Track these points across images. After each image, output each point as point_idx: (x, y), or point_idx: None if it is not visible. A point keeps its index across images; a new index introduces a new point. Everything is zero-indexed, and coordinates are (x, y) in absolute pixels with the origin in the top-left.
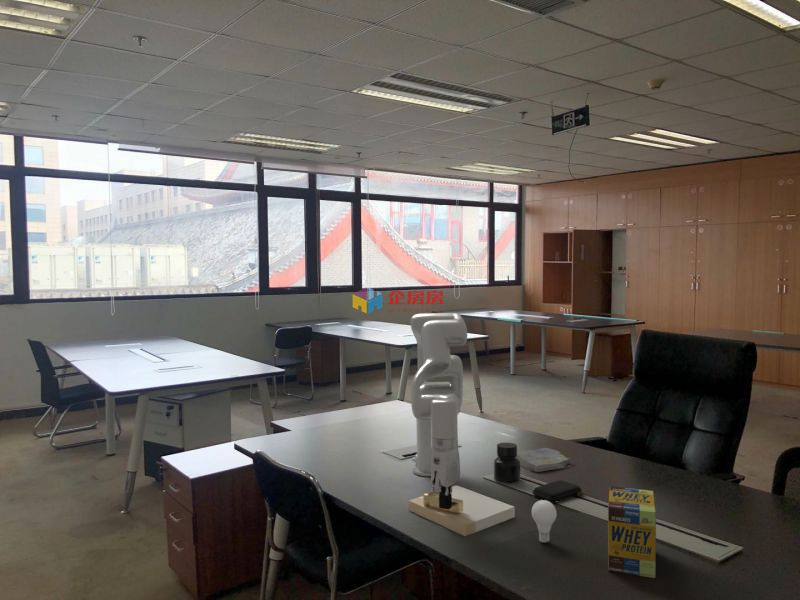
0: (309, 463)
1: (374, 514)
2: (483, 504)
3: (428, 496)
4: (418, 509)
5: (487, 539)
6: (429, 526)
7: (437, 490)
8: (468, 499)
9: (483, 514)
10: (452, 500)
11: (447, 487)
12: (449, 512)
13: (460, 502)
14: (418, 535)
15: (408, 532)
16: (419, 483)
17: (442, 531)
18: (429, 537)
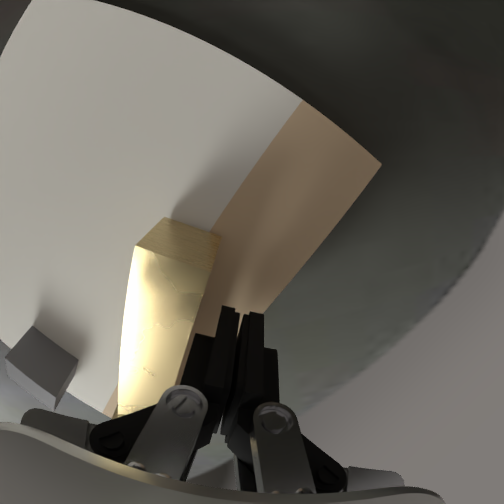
0: None
1: (225, 456)
2: (26, 132)
3: None
4: None
5: (362, 47)
6: (273, 337)
7: (399, 484)
8: (8, 230)
9: (161, 73)
10: (167, 326)
11: (281, 476)
12: None
13: (179, 259)
14: (366, 349)
15: (342, 380)
16: (2, 377)
17: (318, 277)
18: (383, 311)
